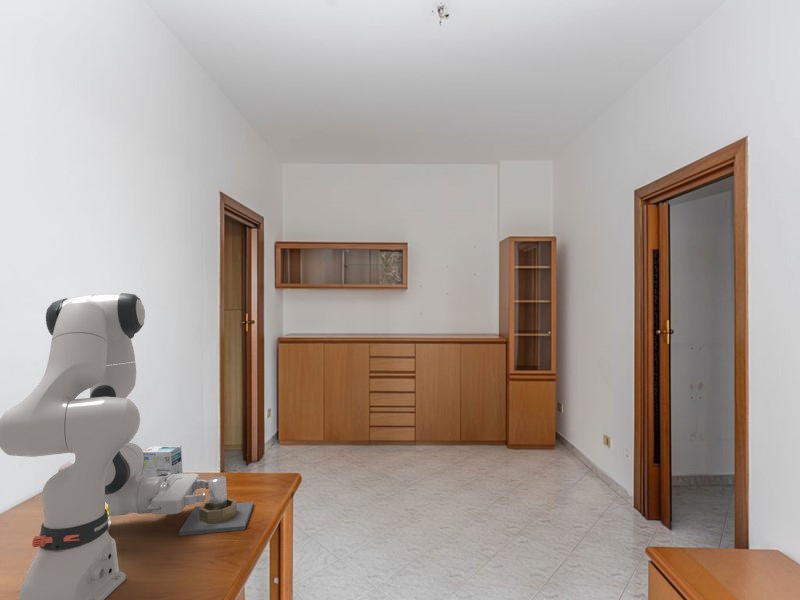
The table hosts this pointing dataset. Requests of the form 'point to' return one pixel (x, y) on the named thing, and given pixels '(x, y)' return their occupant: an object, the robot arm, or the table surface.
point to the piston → (217, 493)
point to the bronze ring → (218, 512)
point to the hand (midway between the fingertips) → (209, 490)
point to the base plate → (234, 524)
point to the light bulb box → (162, 461)
